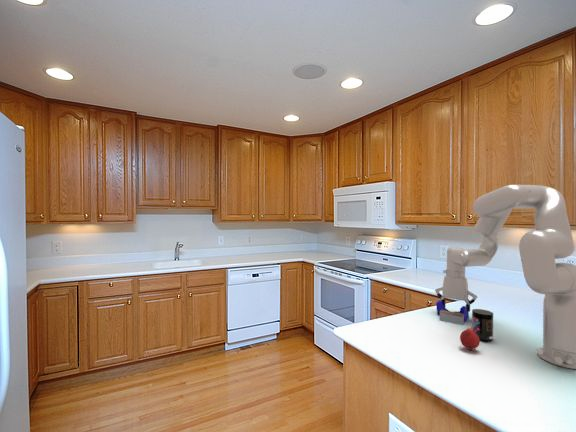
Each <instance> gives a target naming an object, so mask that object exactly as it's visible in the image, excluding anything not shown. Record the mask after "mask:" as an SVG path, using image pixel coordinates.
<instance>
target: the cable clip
mask: <svg viewBox="0 0 576 432" xmlns="http://www.w3.org/2000/svg"><path fill="white" fill-rule="evenodd" d="M435 304H436V315H437V316H440V310H446V311H450V310H449V309H447V308H446V306H445V307H444V305H443V303H442V301H441V300H437V302H436V303H435ZM453 312H456V313H461V314H464V323H465V322H467V321H468V319H470V314H469V313H470V312H468V311H467V307H466V305H462V306H461V307H460V309H459V311H453Z"/></svg>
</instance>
